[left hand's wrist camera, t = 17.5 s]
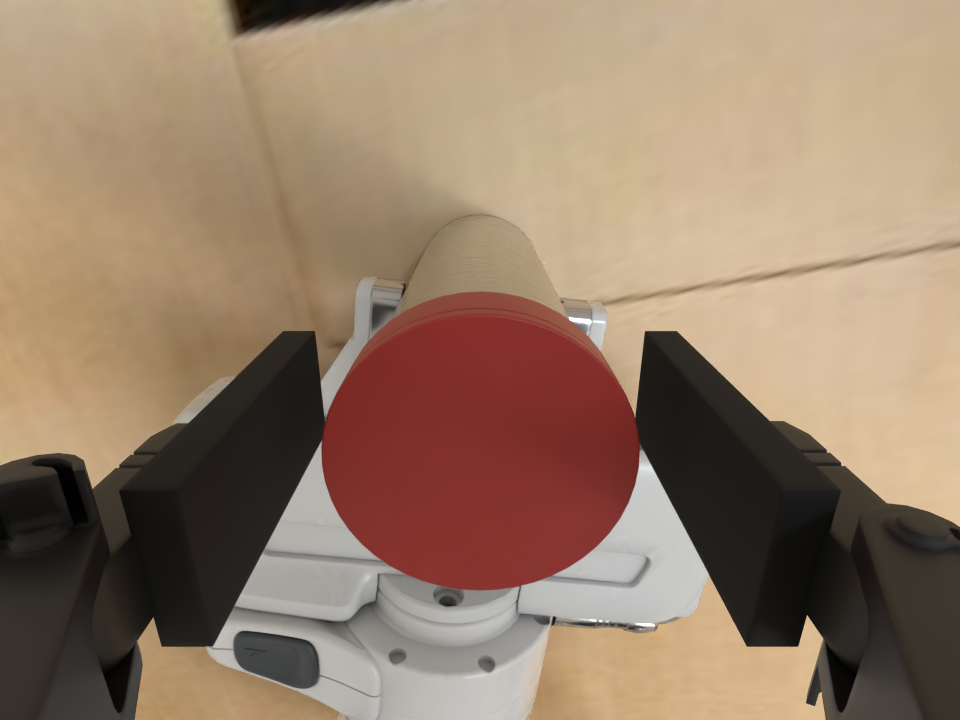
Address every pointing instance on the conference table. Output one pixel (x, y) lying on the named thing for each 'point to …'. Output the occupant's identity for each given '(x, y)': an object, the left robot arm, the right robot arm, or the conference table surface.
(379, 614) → the right robot arm
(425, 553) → the lid
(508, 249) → the jar
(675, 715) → the conference table surface
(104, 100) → the conference table surface
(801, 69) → the conference table surface
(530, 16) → the conference table surface
